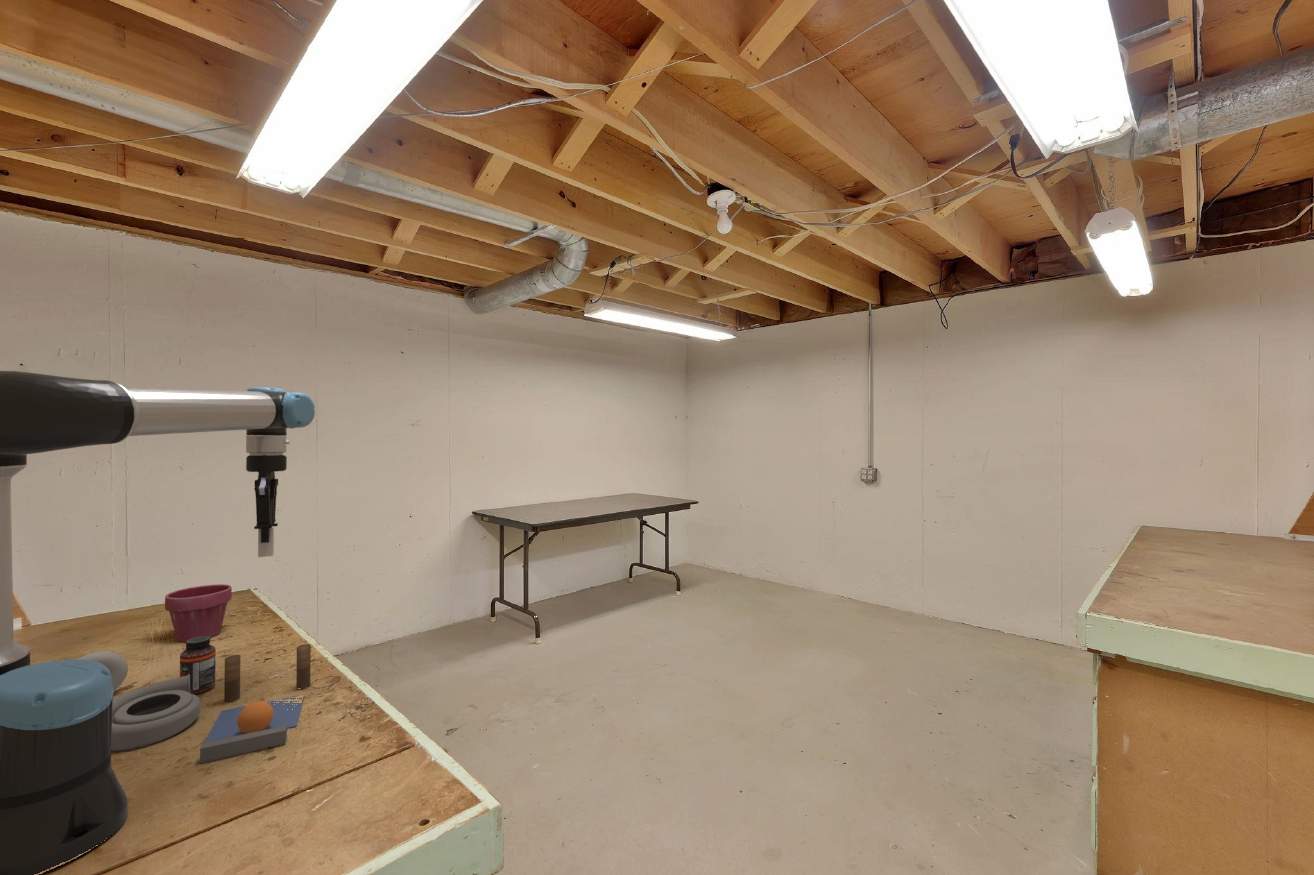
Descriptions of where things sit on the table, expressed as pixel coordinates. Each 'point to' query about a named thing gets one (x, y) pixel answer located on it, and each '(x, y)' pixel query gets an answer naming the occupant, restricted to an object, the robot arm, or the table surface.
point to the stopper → (242, 744)
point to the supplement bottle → (199, 664)
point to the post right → (303, 666)
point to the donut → (111, 665)
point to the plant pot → (198, 610)
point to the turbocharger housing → (152, 713)
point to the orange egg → (255, 717)
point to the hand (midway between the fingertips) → (265, 555)
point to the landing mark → (281, 717)
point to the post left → (232, 678)
